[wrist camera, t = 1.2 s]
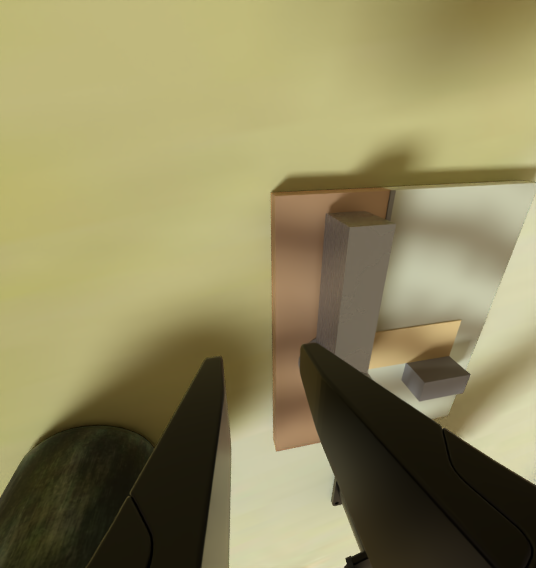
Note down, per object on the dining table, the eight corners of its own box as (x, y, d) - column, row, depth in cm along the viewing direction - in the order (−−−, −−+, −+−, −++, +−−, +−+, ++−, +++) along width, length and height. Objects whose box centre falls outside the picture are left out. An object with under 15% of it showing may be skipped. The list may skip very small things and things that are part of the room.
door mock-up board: (439, 406, 29) (466, 436, 26) (273, 439, 26) (282, 478, 23) (521, 180, 19) (581, 187, 16) (270, 192, 16) (286, 204, 13)
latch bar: (349, 375, 22) (373, 414, 19) (305, 382, 22) (322, 424, 18) (374, 210, 16) (415, 226, 13) (315, 213, 16) (343, 231, 13)
